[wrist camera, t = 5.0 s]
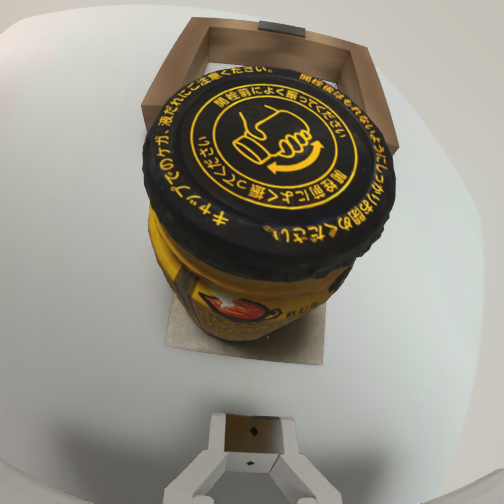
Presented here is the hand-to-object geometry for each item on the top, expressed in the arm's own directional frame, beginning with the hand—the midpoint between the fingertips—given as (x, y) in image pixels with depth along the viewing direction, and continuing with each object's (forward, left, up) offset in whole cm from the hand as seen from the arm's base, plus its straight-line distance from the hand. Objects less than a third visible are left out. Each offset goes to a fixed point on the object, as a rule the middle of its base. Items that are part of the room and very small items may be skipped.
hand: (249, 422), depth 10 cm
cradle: (-2, +22, -5) cm, 22 cm away
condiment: (0, +6, -5) cm, 8 cm away
